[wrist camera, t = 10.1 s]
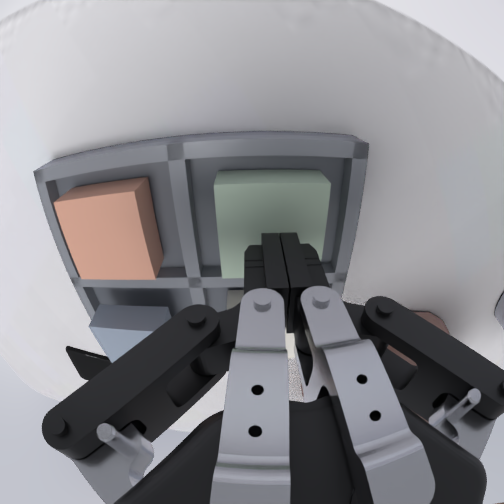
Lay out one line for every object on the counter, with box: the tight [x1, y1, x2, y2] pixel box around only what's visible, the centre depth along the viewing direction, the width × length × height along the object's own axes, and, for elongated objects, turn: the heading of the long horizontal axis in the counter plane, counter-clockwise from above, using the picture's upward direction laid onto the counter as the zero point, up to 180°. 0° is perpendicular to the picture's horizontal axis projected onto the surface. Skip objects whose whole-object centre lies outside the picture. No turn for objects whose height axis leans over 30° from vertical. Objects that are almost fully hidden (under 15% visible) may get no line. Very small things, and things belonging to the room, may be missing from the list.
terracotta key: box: [54, 177, 164, 280], centre depth 13 cm, size 5×5×2 cm
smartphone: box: [66, 346, 112, 380], centre depth 26 cm, size 7×1×15 cm
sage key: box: [214, 169, 331, 279], centre depth 13 cm, size 5×5×2 cm
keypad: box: [33, 131, 369, 320], centre depth 17 cm, size 18×16×2 cm
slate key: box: [89, 304, 171, 363], centre depth 16 cm, size 5×5×2 cm
